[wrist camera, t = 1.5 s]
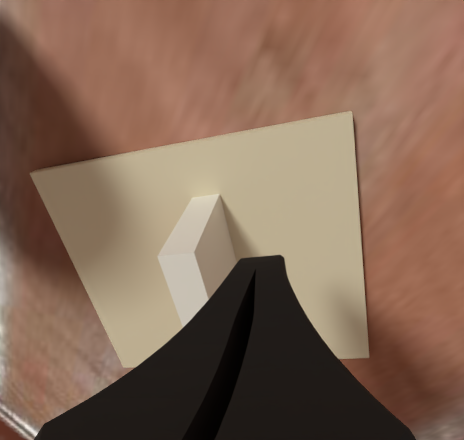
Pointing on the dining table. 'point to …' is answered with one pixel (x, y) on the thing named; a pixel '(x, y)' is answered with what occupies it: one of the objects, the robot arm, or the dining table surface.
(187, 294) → the tile
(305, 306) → the mat
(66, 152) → the dining table surface
